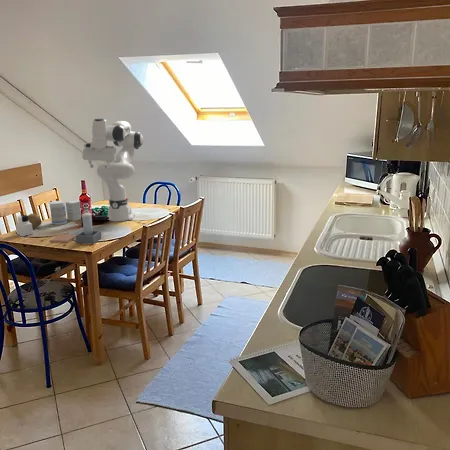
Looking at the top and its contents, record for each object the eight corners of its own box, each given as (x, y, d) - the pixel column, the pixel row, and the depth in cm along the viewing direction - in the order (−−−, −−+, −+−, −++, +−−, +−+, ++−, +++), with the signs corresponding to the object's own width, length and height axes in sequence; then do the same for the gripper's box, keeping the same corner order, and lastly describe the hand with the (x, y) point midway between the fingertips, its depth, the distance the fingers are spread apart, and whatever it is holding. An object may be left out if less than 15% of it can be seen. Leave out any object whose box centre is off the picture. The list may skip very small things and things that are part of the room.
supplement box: (76, 217, 311) (74, 200, 308) (82, 218, 307) (80, 201, 303) (67, 219, 305) (65, 201, 302) (73, 221, 301) (71, 203, 298)
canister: (86, 239, 260) (84, 212, 256) (95, 239, 260) (92, 213, 255) (82, 241, 255) (80, 215, 251) (91, 242, 255) (88, 215, 250)
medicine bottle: (28, 232, 276) (26, 213, 272) (33, 234, 271) (30, 215, 267) (17, 234, 271) (14, 215, 268) (21, 236, 266) (18, 217, 263)
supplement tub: (68, 224, 294) (66, 202, 290) (53, 226, 289) (51, 204, 285) (64, 220, 302) (62, 200, 298) (50, 223, 297) (47, 201, 293)
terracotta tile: (59, 236, 266) (59, 234, 266) (76, 237, 264) (76, 235, 264) (50, 241, 255) (49, 240, 255) (67, 242, 254) (67, 240, 254)
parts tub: (84, 237, 263) (83, 230, 262) (101, 238, 262) (100, 231, 261) (76, 242, 253) (75, 235, 252) (93, 243, 252) (93, 236, 251)
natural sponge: (23, 229, 281) (21, 214, 278) (33, 226, 289) (31, 211, 286) (34, 231, 278) (32, 215, 275) (44, 227, 286) (42, 212, 283)
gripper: (117, 146, 273) (117, 168, 275) (85, 144, 274) (85, 166, 276) (114, 146, 267) (113, 169, 269) (81, 144, 268) (81, 167, 270)
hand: (99, 168), depth 273 cm, fingers open, 8 cm apart
